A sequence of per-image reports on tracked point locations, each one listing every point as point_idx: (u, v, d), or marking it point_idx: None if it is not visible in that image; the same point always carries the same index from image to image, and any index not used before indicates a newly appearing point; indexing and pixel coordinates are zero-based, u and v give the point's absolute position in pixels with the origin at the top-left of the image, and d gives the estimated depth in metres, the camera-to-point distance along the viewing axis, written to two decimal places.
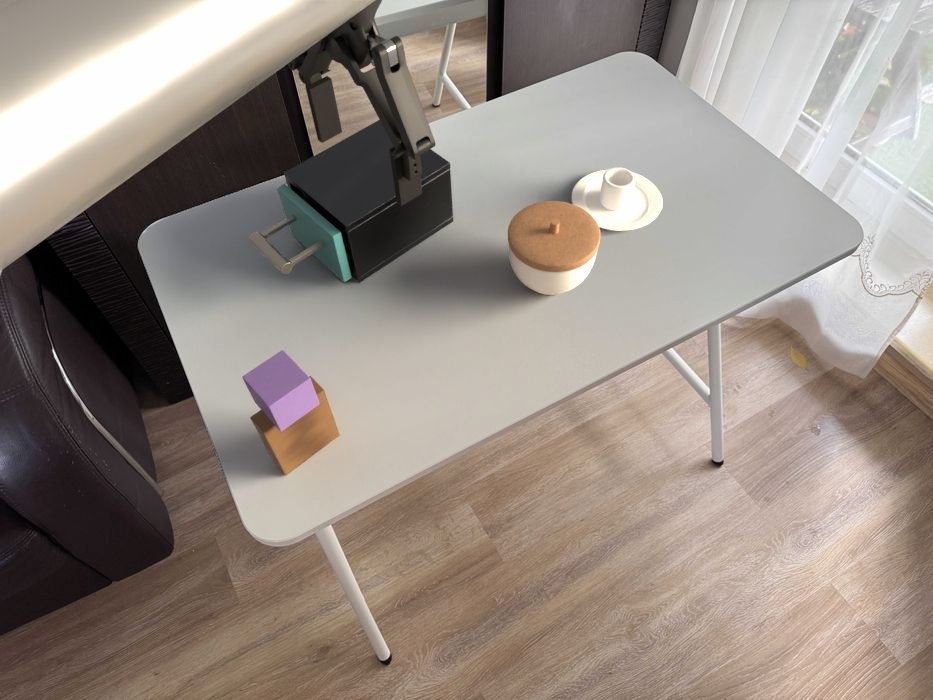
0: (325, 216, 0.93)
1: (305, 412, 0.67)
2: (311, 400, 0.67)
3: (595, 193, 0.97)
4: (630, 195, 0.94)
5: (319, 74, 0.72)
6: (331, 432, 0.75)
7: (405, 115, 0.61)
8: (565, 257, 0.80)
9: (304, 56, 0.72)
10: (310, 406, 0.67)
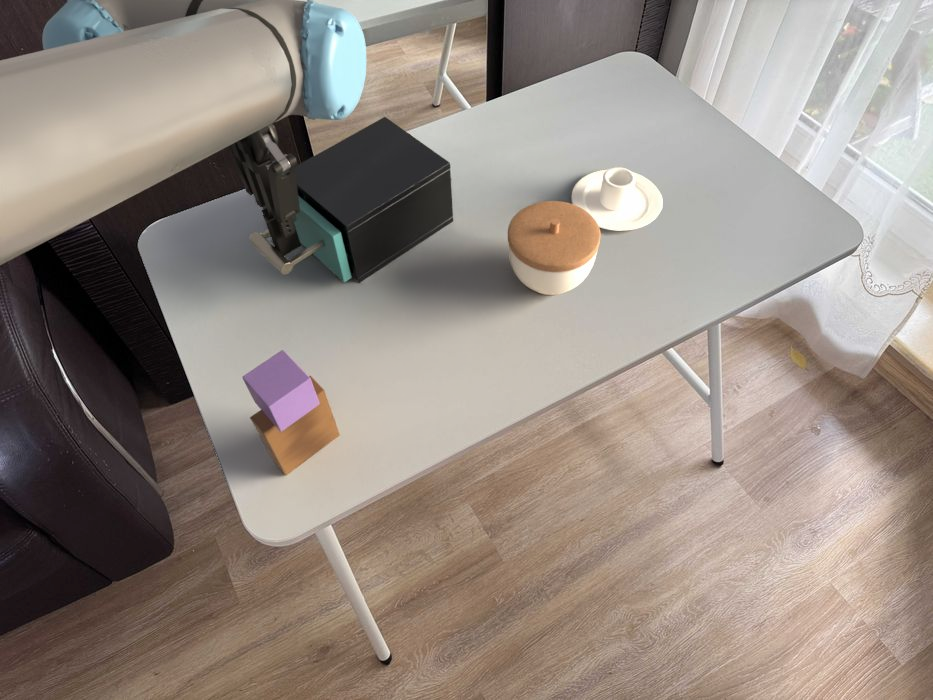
0: (325, 216, 0.93)
1: (305, 412, 0.67)
2: (311, 400, 0.67)
3: (595, 193, 0.97)
4: (630, 195, 0.94)
5: None
6: (331, 432, 0.75)
7: (283, 201, 0.75)
8: (565, 257, 0.80)
9: None
10: (310, 406, 0.67)
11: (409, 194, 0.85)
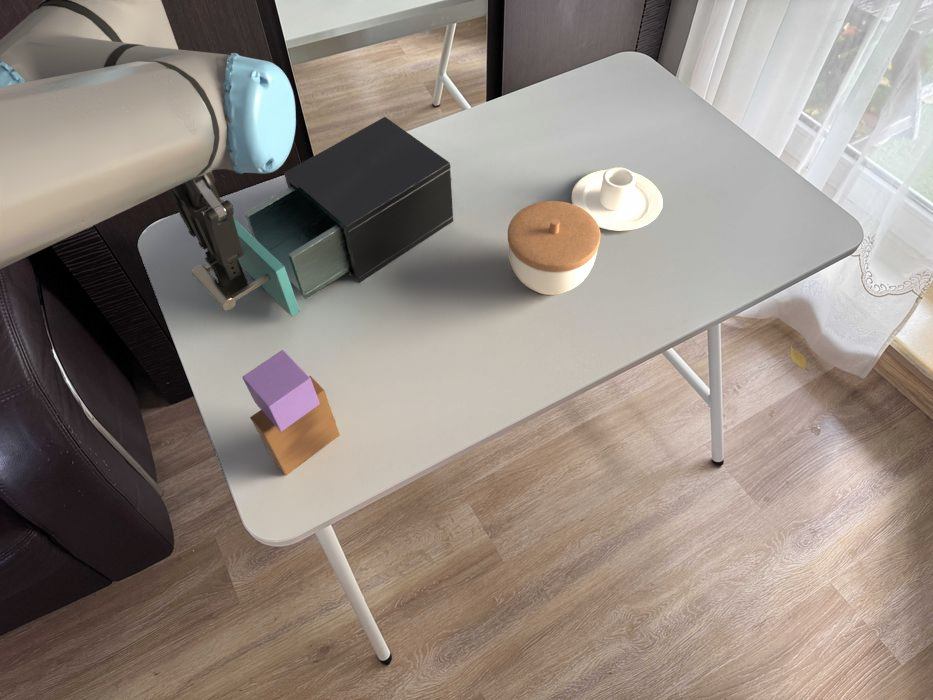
0: (275, 246, 0.90)
1: (305, 412, 0.67)
2: (311, 400, 0.67)
3: (595, 193, 0.97)
4: (630, 195, 0.94)
5: None
6: (331, 432, 0.75)
7: (222, 246, 0.73)
8: (565, 257, 0.80)
9: None
10: (310, 406, 0.67)
11: (409, 194, 0.85)
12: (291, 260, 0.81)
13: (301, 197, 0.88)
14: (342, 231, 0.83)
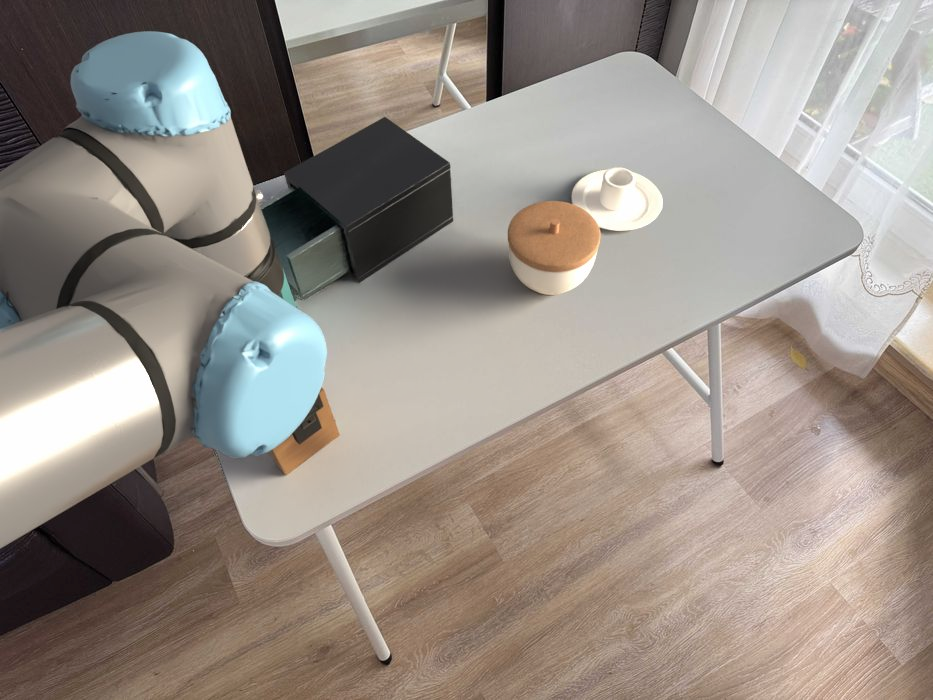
0: None
1: None
2: None
3: (595, 193, 0.97)
4: (630, 195, 0.94)
5: None
6: (331, 432, 0.75)
7: None
8: (565, 257, 0.80)
9: None
10: None
11: (409, 194, 0.85)
12: (289, 261, 0.81)
13: (299, 198, 0.88)
14: (340, 232, 0.83)
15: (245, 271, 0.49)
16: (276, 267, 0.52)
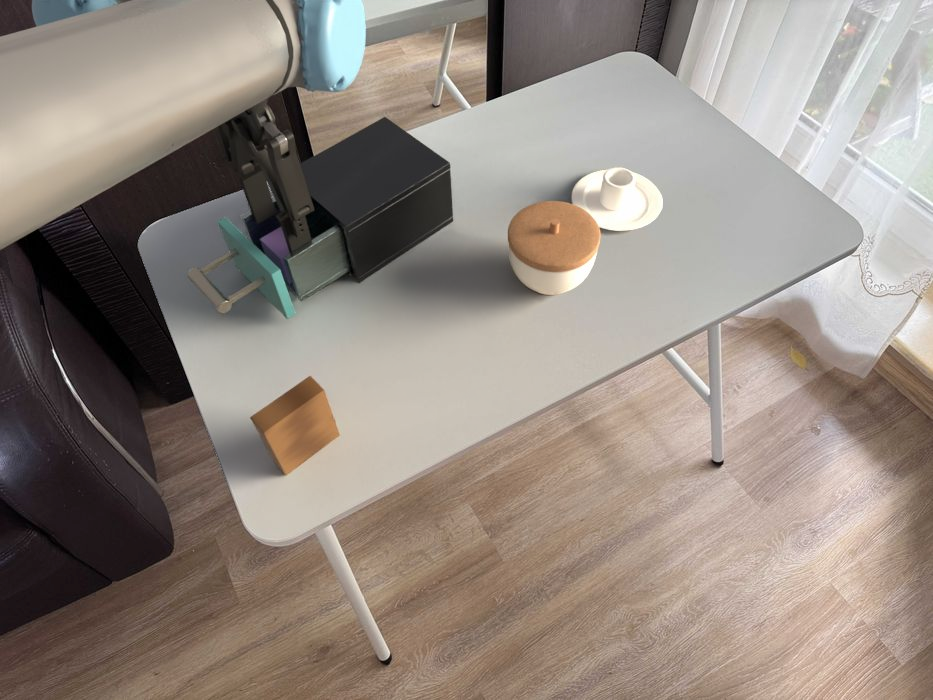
0: None
1: None
2: None
3: (595, 193, 0.97)
4: (630, 195, 0.94)
5: (251, 165, 0.80)
6: (331, 432, 0.75)
7: (290, 190, 0.72)
8: (565, 257, 0.80)
9: None
10: None
11: (409, 194, 0.85)
12: (287, 263, 0.81)
13: None
14: (338, 233, 0.83)
15: None
16: None
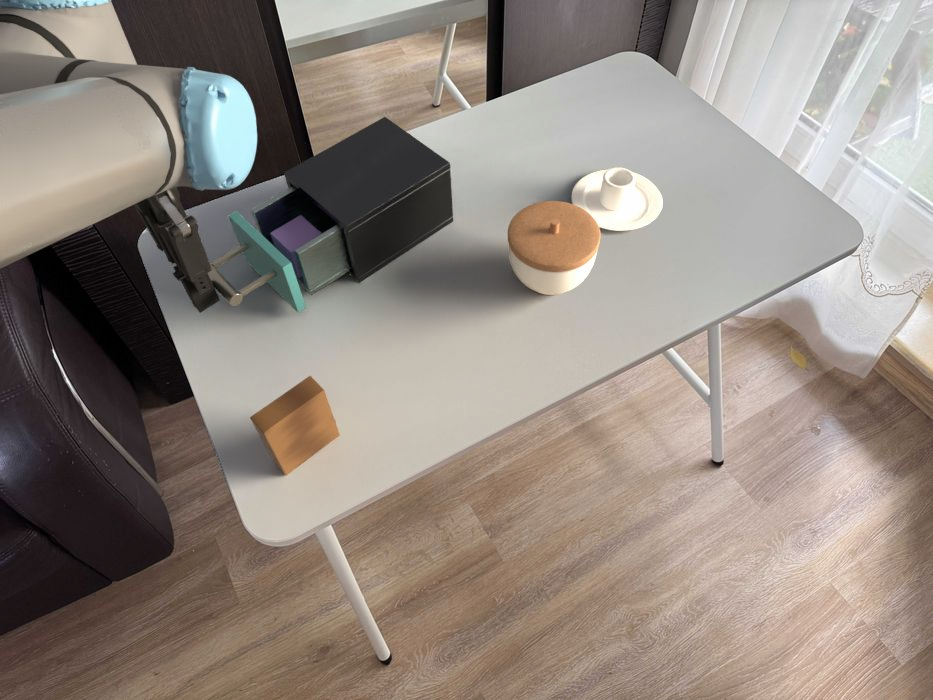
0: None
1: None
2: None
3: (595, 193, 0.97)
4: (630, 195, 0.94)
5: None
6: (331, 432, 0.75)
7: (188, 262, 0.71)
8: (565, 257, 0.80)
9: None
10: None
11: (409, 194, 0.85)
12: (298, 256, 0.81)
13: None
14: None
15: None
16: None
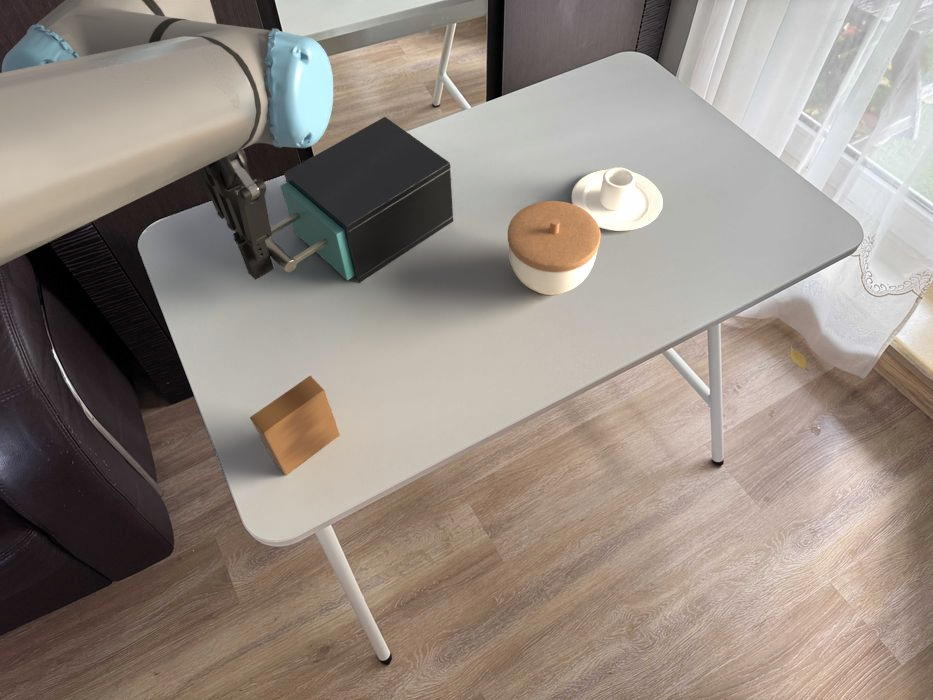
0: None
1: None
2: None
3: (595, 193, 0.97)
4: (630, 195, 0.94)
5: None
6: (331, 432, 0.75)
7: (253, 226, 0.74)
8: (565, 257, 0.80)
9: None
10: None
11: (409, 194, 0.85)
12: None
13: None
14: None
15: None
16: None
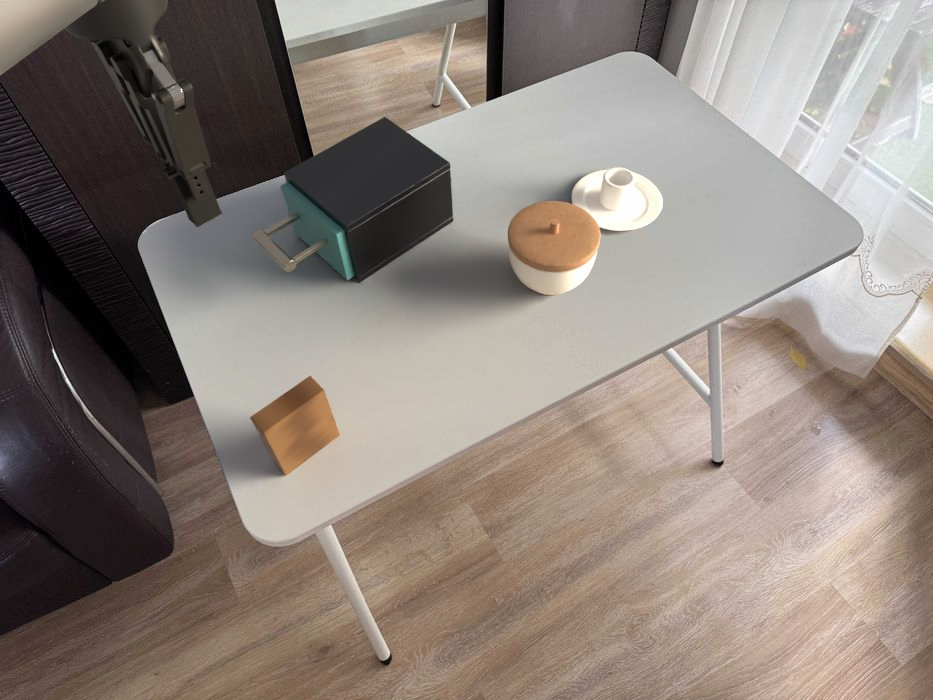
0: None
1: None
2: None
3: (595, 193, 0.97)
4: (630, 195, 0.94)
5: None
6: (331, 432, 0.75)
7: (182, 147, 0.56)
8: (565, 257, 0.80)
9: None
10: None
11: (409, 194, 0.85)
12: None
13: None
14: None
15: None
16: None
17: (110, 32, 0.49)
